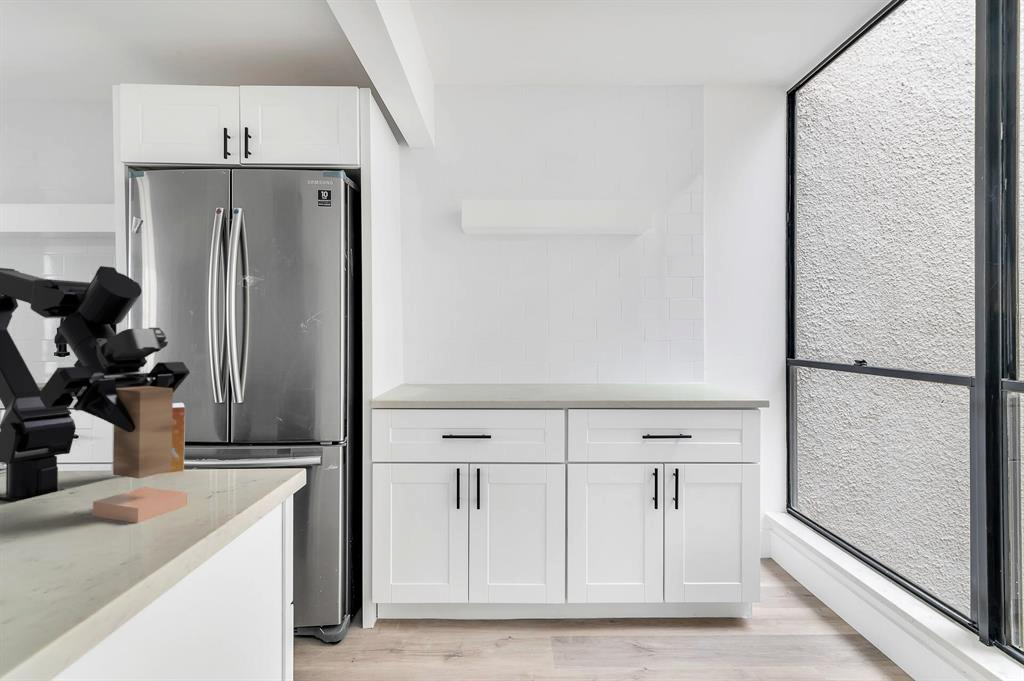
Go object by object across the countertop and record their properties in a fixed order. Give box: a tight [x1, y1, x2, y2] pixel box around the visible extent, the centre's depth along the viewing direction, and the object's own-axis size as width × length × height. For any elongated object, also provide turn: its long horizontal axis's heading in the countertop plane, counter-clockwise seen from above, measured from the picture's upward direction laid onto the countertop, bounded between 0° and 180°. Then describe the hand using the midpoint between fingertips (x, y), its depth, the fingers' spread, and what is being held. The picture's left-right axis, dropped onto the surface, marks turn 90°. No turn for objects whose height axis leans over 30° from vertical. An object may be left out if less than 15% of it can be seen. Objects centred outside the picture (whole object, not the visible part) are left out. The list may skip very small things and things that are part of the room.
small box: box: [162, 402, 186, 474], centre depth 105 cm, size 8×6×13 cm
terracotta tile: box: [92, 486, 188, 524], centre depth 82 cm, size 8×8×2 cm
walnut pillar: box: [112, 386, 174, 479], centre depth 82 cm, size 5×5×12 cm
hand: (150, 427), depth 82 cm, fingers closed on walnut pillar, 5 cm apart
